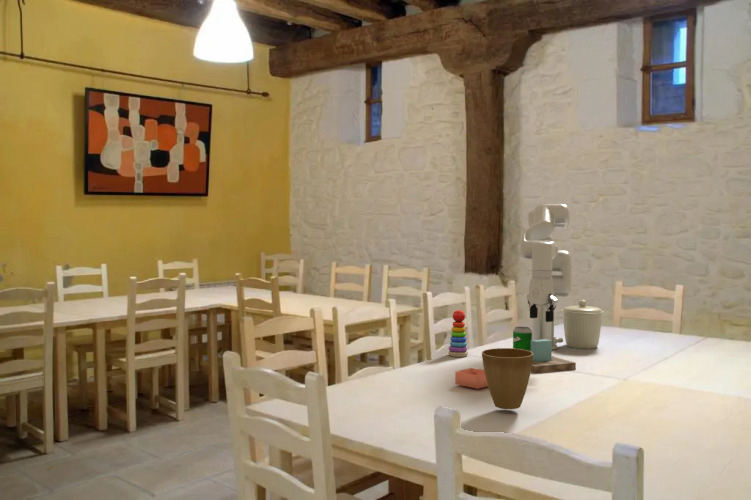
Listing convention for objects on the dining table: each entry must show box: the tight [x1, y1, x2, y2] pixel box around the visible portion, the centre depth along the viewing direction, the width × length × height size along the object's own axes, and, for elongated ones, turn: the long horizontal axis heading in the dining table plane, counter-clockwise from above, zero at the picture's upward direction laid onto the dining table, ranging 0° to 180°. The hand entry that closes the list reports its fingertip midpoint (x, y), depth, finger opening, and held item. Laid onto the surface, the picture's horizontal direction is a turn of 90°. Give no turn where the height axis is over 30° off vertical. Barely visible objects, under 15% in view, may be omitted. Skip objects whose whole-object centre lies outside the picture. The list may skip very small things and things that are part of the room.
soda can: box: [512, 326, 532, 351], centre depth 279 cm, size 8×8×12 cm
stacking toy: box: [448, 309, 469, 358], centre depth 281 cm, size 8×8×19 cm
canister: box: [560, 299, 605, 350], centre depth 301 cm, size 18×18×21 cm
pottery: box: [454, 367, 488, 390], centre depth 234 cm, size 18×10×10 cm, turn 135°
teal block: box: [531, 339, 552, 362], centre depth 260 cm, size 4×7×10 cm, turn 113°
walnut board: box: [530, 356, 577, 374], centre depth 260 cm, size 18×18×4 cm
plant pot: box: [481, 347, 533, 410], centre depth 201 cm, size 15×15×16 cm
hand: (541, 319), depth 259 cm, fingers open, 9 cm apart
